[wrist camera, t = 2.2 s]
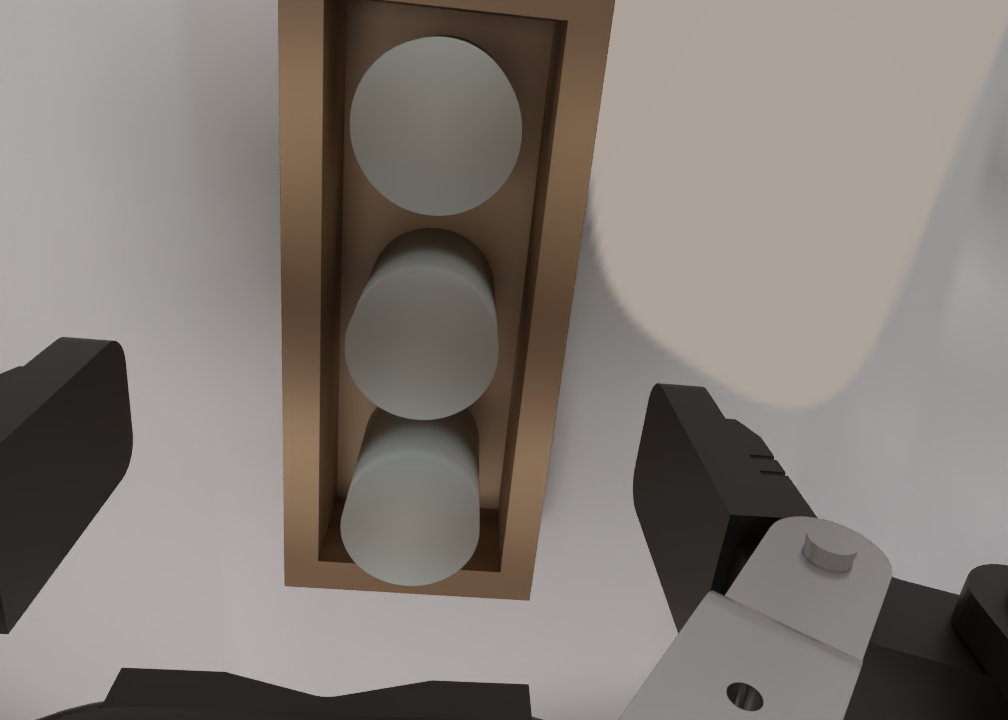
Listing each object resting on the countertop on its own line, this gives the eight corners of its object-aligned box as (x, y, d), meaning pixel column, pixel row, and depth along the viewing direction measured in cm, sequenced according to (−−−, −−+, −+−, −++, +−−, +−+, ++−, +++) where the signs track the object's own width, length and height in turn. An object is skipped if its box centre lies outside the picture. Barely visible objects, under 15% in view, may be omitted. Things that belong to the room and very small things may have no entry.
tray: (315, -46, 17) (258, -72, 12) (591, -14, 17) (631, -28, 13) (312, 504, 22) (271, 623, 18) (521, 518, 23) (532, 638, 18)
